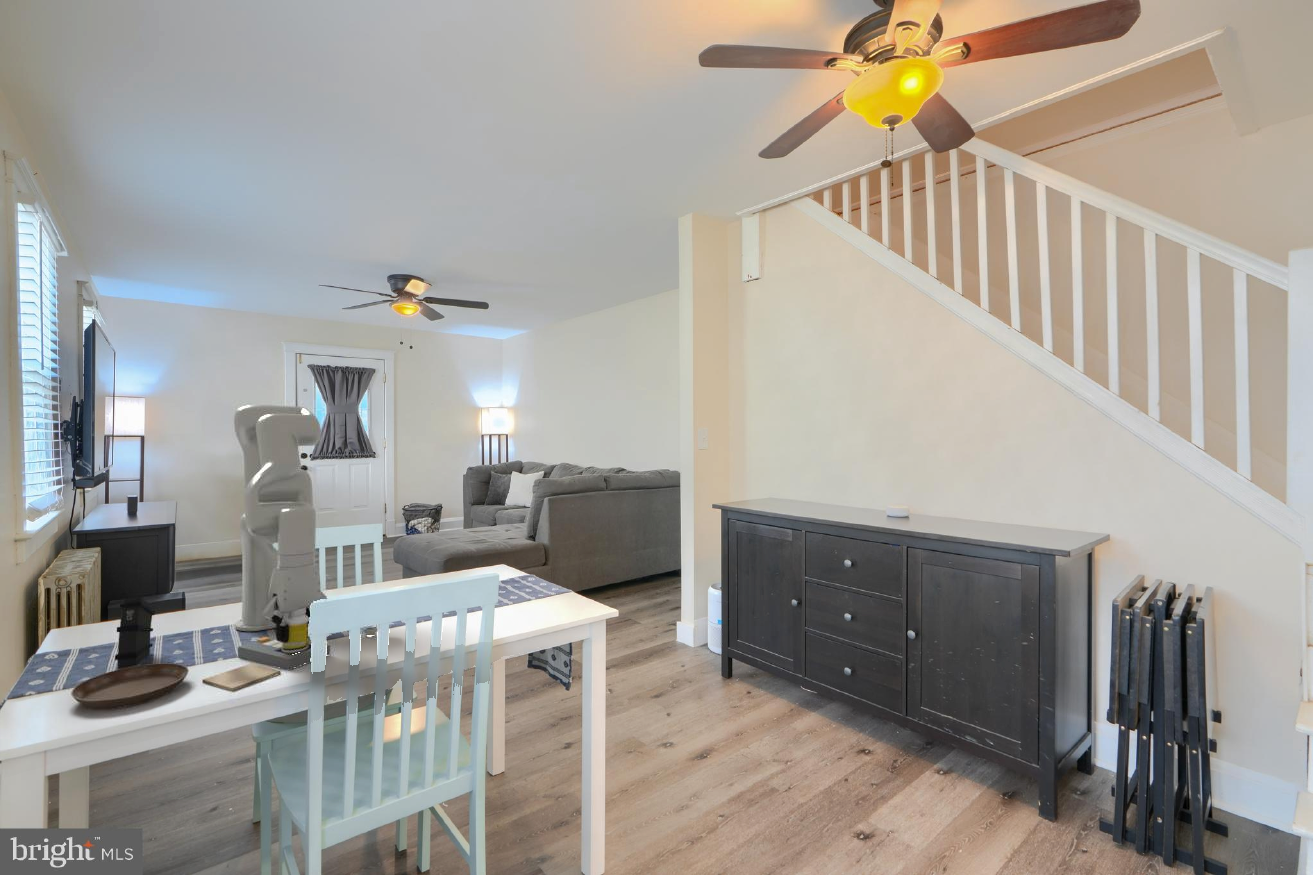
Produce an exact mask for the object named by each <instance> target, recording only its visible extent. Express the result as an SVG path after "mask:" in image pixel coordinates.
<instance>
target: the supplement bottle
mask: <svg viewBox="0 0 1313 875" xmlns="http://www.w3.org/2000/svg"><path fill="white" fill-rule="evenodd" d="M305 613H306V607H305V608H302V609H298V610H294V611H291V612H290V613H289V616H288V619H287V623H286V625H289V641H288V642H286V643H283V642H282V652H284V653H296V652H301V651H304V650H306V649H307V648H308V645H309V640H310V638H309V637H310V635H309V636H308V624H309V617H308V616H307V615H305Z"/></svg>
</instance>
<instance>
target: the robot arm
mask: <svg viewBox="0 0 1313 875" xmlns="http://www.w3.org/2000/svg"><path fill="white" fill-rule="evenodd" d="M233 425H234V426H233V427H234V432H235V435H236V438H237V440H238V443H239V445H240V448H241V450H242V453H243V470H244V471H243V472H244V474H243V477H244V478H243V479H244V494H243V509H244V510H243V511H244V514H242V516H240V518H239V521H238V532H239V536H240V542H241V543H240V544H241V552H242V553H241V554H242V559H241V560H242V564H241V565H242V576H241V577H242V579H241V580H242V582H241V585H242V586H241V588H242V591H241V592H242V593H241V604H242V605H241V619H239V620H237V621H236V622H235V623H234V629H235V630H237V631H240V632H241V631H242V632H257V631H266V630H270V629H275V635H276V638H277V641H279V642H283V643H286V642H288V641H289V625H286V623H287V619H288V616H289V613H290V612H291V611H294V610H298V609H302V608H305V607H306V613H305V615H307V616H308V617H310V605H311V603H313V601H317V600H320V599H326V600H327V599H328V597H327V595H326V594H324V592H323V591H322V590H321V576H320V570H319V569H320V568H319V566H318V563H317V562H316V558H317V557H319V556H320V553H319V551H317V550H316V539H317V538H316V535H317V534H316V532H317V530H316V528H317V527H316V524H317V514H316V509H315V508H314V500H313V497H314V496H313V495H314V493H313V483H312V479H311V476H310V474H309V472H308V471H306V470H305V469H301V464H302V463H301V459H300V458H301V457H300V454H299V447H303V446H304V447H305V446H306V447H309V446H316V445H317V444H318V443H319V442H320V440H321V438H322V437H321V436H322V428H321V425H320V421H319V419H318V418H317V416H316V415H315V414H314V413H313V412H312V411H310V410H309V409H308V408H306V407H304V406H295V405H294V406H292V405H291V406H289V405H273V404H272V405H271V404H270V405H269V404H268V405H267V404H251V405H250V404H249V405H244V406H241V407H239V408H238V409H236V410H235V412H234V416H233ZM275 544H277V548H276V547H275V546H274V545H275Z"/></svg>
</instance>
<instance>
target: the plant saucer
mask: <svg viewBox="0 0 1313 875" xmlns="http://www.w3.org/2000/svg"><path fill="white" fill-rule="evenodd" d="M188 674H189V668H188V667H187V666H185V665H183V664H180V663H171V662H170V663H168V662H166V663H165V662H164V663H163V662H160V663H149V664H148V663H147V664H139V665H138V666H133V667H128V668H123V669H119V670H118V669H116V670H112V671H111V670H110V671H109V672H105V673H102V674H99V675H96V676H93V677H91V678H89V679H86V680H85V681H82V682H81V683H79V684H78V685H76V686H75V687H73V688H72V691H71V692H70V695H71V697H72V698H73V699H74V700H76V702H78V703H79V704H81V705H82V706H84V707H86V708H89V709H92V710H113V709H114V708H115V709H122V708H127V707H132V706H135V705H141V704H144V703H148V702H151V701H154V700H156V699H159V698H163V697H164V696H166V695H168V694H170V693H171V692H173V691H175V690H176V688H177V687H179V686H180V685H181V683H182V682H183V681H184V680H185V678H186V676H188Z"/></svg>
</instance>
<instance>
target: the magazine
mask: <svg viewBox="0 0 1313 875" xmlns="http://www.w3.org/2000/svg"><path fill="white" fill-rule="evenodd" d="M119 608H120V609H122V610H121V616H120V621H119V622H120V623H119V626H117V627H116V632H117V633H118V646H117V652H118V653H116V654H114V661H117V670H119V669H123V668H128V667H133V666H139V665H141V664H140V663H141V662H143V661H144V660H145V659H146V657H148V655H149V654H150V653H151V648H152V647H153V646H154V645H153V643H152V642H151V632H154V628H153V627H152V620H153V616H155V615H156V611H155V610H154V605H152V604H151V603H149V602H148V601H147V600H145V599H144V598H143V597H139V596H138V597H126V598H123V602H122V603H120V604H119Z"/></svg>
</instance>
